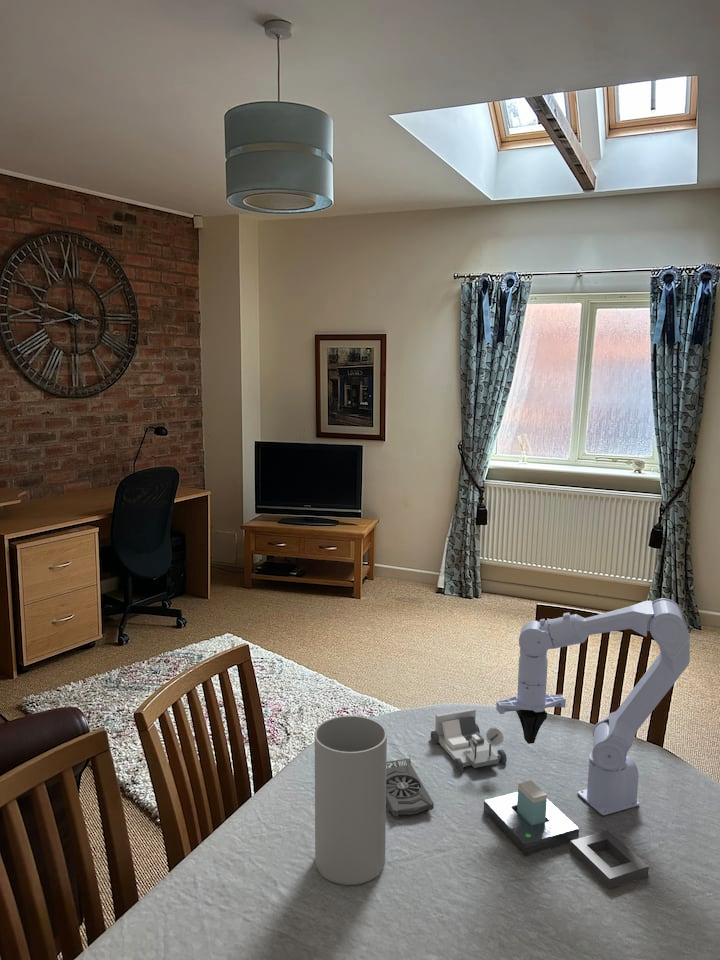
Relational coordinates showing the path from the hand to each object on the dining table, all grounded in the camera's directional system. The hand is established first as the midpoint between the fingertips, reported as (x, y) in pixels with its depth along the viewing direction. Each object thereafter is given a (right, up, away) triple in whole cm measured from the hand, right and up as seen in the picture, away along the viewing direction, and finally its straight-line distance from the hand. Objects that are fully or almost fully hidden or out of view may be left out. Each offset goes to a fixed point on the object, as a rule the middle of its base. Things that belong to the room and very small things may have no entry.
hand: (529, 741), depth 151 cm
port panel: (-2, -12, -11) cm, 17 cm away
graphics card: (-28, -11, -1) cm, 30 cm away
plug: (-2, -13, -11) cm, 17 cm away
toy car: (-10, -9, +14) cm, 20 cm away
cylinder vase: (-37, -14, -21) cm, 45 cm away
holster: (+9, -14, -21) cm, 27 cm away
